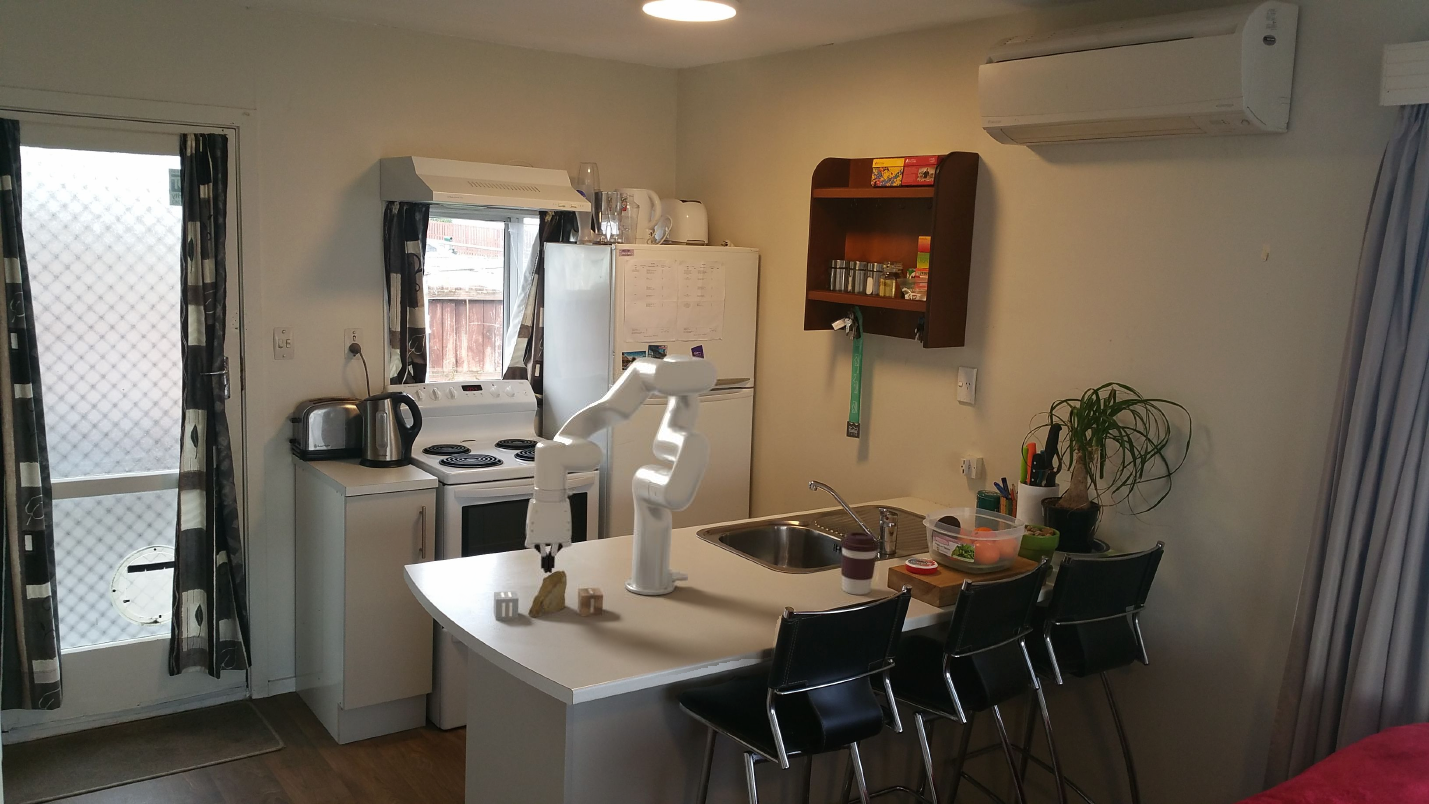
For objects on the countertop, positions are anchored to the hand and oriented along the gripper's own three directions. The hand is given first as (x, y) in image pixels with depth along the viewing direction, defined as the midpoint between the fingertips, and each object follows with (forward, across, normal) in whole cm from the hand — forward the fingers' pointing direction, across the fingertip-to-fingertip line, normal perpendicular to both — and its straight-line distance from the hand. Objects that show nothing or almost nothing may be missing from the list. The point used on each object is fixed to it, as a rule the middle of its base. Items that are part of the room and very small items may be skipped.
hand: (547, 571), depth 241 cm
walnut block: (+10, -10, +2) cm, 14 cm away
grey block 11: (+10, +10, +2) cm, 14 cm away
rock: (+10, 0, 0) cm, 10 cm away
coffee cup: (+10, -81, -4) cm, 82 cm away
